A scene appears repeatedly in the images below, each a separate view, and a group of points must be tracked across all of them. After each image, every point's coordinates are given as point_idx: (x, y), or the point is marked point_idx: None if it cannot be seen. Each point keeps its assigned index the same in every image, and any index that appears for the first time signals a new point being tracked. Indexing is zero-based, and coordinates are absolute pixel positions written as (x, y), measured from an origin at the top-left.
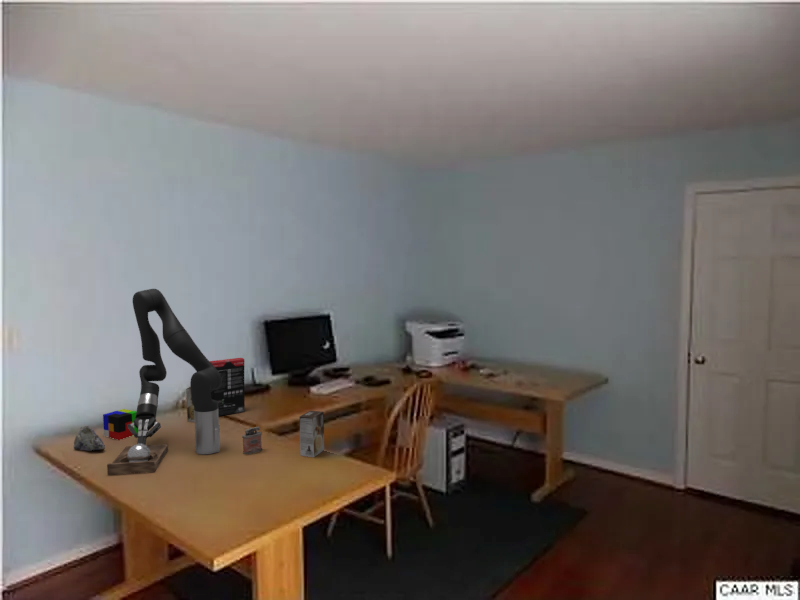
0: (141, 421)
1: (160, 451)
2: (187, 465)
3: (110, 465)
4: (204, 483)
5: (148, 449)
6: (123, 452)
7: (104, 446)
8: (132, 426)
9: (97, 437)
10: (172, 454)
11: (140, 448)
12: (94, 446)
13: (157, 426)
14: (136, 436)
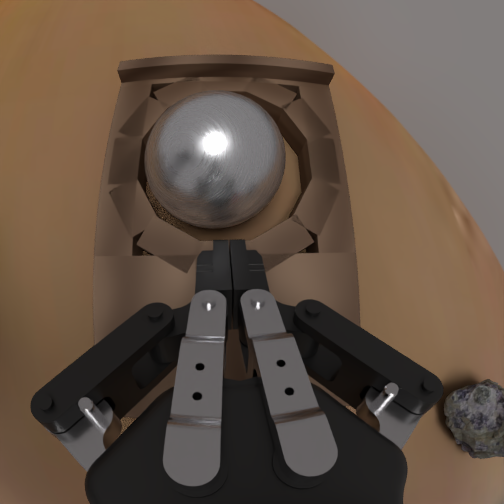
0: (288, 443)
1: (108, 272)
2: (16, 155)
3: (317, 65)
4: (18, 42)
5: (148, 138)
6: (344, 294)
7: (450, 408)
8: (383, 388)
9: (496, 423)
10: (73, 320)
11: (193, 95)
12: (482, 383)
13: (61, 373)
14: (291, 313)
